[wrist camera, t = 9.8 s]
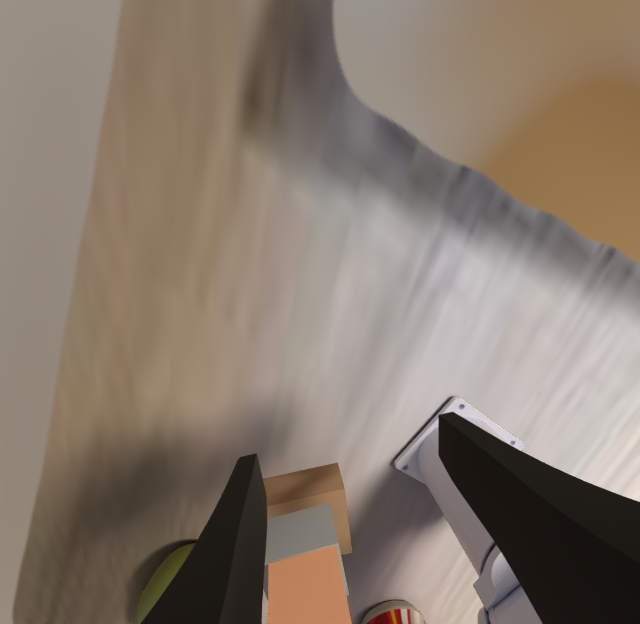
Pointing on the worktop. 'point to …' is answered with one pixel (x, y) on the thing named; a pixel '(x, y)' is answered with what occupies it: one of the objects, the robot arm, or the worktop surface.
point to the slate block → (301, 536)
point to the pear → (161, 581)
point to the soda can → (394, 614)
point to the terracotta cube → (307, 590)
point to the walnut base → (311, 497)
